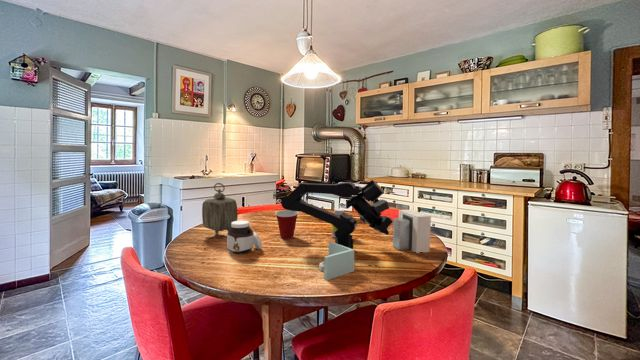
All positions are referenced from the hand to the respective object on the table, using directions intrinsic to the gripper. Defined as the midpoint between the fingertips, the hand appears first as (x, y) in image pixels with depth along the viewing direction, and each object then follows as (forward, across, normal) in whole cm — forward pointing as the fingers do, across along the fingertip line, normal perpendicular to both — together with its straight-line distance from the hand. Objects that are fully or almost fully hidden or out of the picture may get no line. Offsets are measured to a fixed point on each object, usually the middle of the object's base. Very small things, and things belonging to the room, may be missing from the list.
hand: (387, 233), depth 121 cm
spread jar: (-35, +13, +44) cm, 58 cm away
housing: (+13, 0, -4) cm, 14 cm away
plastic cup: (-21, +27, +31) cm, 46 cm away
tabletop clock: (-43, +36, +52) cm, 76 cm away
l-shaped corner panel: (-16, -14, +26) cm, 34 cm away
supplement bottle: (-4, +23, +14) cm, 27 cm away
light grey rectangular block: (+11, 0, -2) cm, 11 cm away
